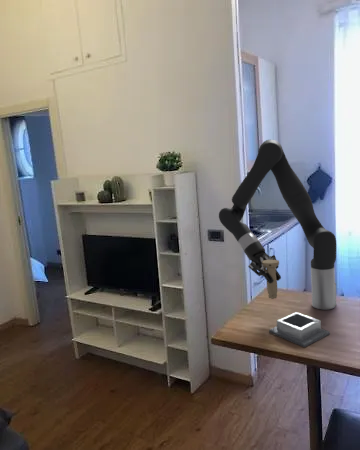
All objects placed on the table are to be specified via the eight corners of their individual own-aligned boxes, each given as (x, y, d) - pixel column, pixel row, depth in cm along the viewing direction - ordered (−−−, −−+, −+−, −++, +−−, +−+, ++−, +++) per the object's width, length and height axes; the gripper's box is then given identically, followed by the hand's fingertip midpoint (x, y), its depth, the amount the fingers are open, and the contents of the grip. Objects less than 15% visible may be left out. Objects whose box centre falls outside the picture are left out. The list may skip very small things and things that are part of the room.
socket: (294, 320, 153) (293, 308, 152) (329, 334, 140) (329, 321, 139) (269, 332, 145) (268, 319, 145) (304, 347, 132) (303, 333, 131)
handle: (280, 300, 150) (278, 263, 148) (263, 299, 153) (261, 263, 150) (281, 295, 155) (279, 259, 152) (265, 295, 157) (262, 259, 154)
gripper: (242, 244, 152) (267, 280, 144) (267, 237, 160) (293, 271, 152) (234, 255, 157) (258, 290, 150) (259, 247, 165) (283, 281, 157)
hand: (275, 280), depth 151 cm, fingers closed on handle, 3 cm apart
